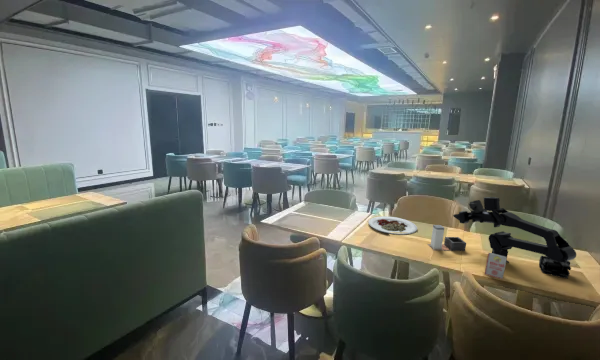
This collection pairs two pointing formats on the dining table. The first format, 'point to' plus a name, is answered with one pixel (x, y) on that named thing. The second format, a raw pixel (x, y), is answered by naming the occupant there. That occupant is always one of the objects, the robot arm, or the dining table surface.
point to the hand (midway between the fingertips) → (459, 214)
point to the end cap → (554, 267)
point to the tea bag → (495, 265)
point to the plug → (437, 236)
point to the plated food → (392, 225)
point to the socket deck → (452, 244)
